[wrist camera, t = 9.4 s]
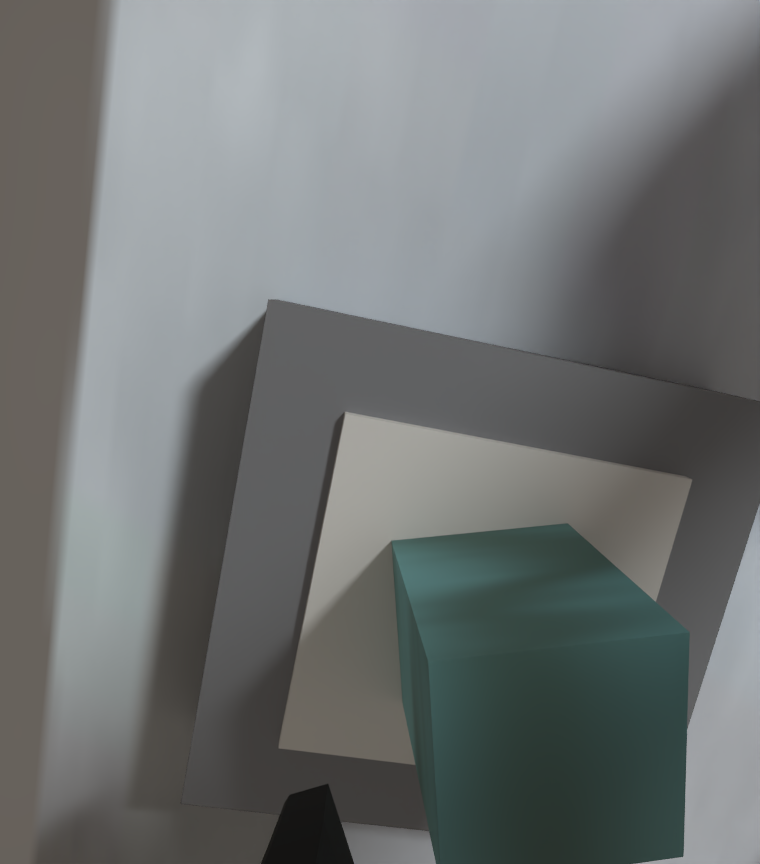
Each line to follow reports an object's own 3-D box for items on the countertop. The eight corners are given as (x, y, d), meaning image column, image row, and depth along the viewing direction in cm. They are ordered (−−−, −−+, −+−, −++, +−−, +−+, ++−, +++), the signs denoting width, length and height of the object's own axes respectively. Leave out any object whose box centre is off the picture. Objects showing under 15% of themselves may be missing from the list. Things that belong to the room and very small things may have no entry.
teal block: (567, 523, 15) (690, 631, 10) (569, 683, 16) (683, 856, 11) (391, 540, 15) (427, 662, 10) (402, 703, 15) (441, 890, 10)
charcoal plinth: (713, 391, 18) (799, 410, 15) (599, 773, 20) (652, 864, 17) (277, 299, 17) (267, 299, 13) (202, 724, 19) (178, 813, 15)
